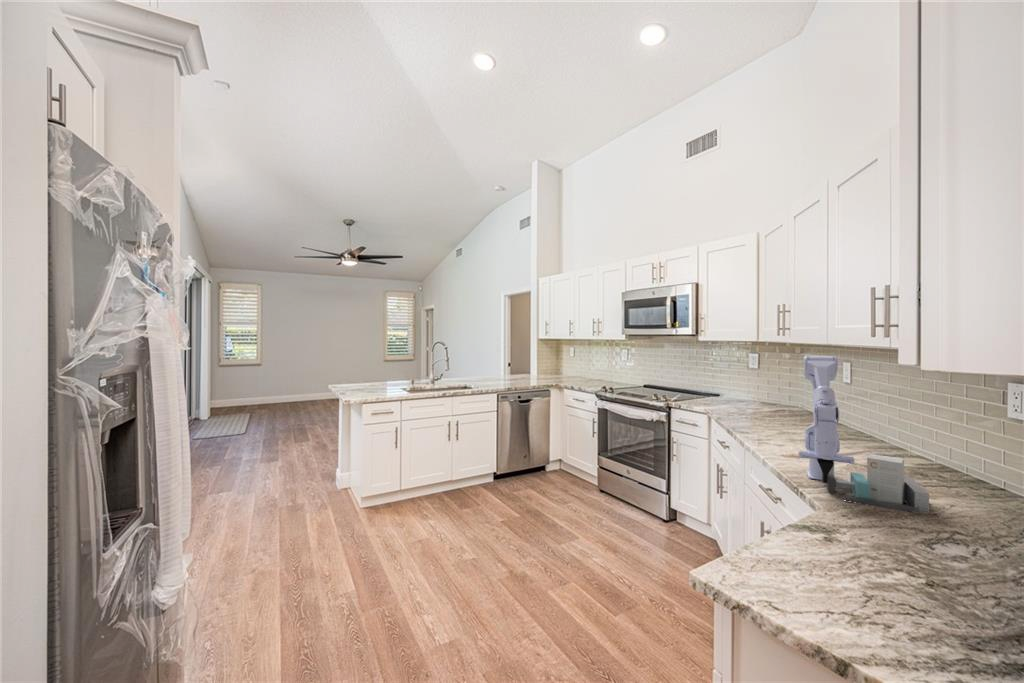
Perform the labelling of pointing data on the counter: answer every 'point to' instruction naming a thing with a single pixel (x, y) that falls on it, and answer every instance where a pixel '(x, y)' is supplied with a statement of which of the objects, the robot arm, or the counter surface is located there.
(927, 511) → the vise
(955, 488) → the counter surface
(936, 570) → the counter surface
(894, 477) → the small box
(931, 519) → the counter surface
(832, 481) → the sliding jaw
